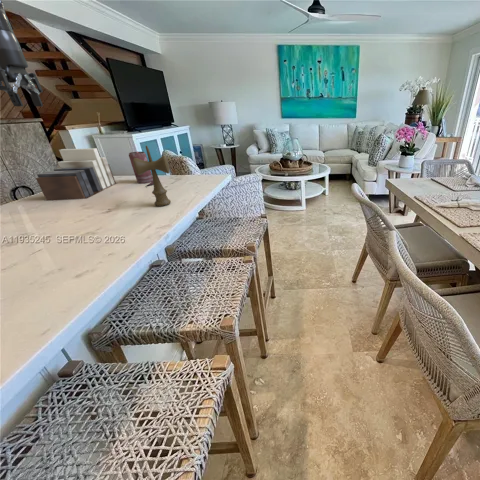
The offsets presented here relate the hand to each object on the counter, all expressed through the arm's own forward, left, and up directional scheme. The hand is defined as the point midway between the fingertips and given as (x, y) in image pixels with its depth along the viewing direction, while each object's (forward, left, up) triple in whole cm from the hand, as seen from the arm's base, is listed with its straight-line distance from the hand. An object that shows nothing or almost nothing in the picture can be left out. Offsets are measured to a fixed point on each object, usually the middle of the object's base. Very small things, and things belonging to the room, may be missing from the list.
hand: (29, 106), depth 90 cm
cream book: (+6, +5, -30) cm, 31 cm away
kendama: (+41, -18, -32) cm, 55 cm away
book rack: (+6, 0, -31) cm, 32 cm away
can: (+24, +11, -32) cm, 41 cm away
